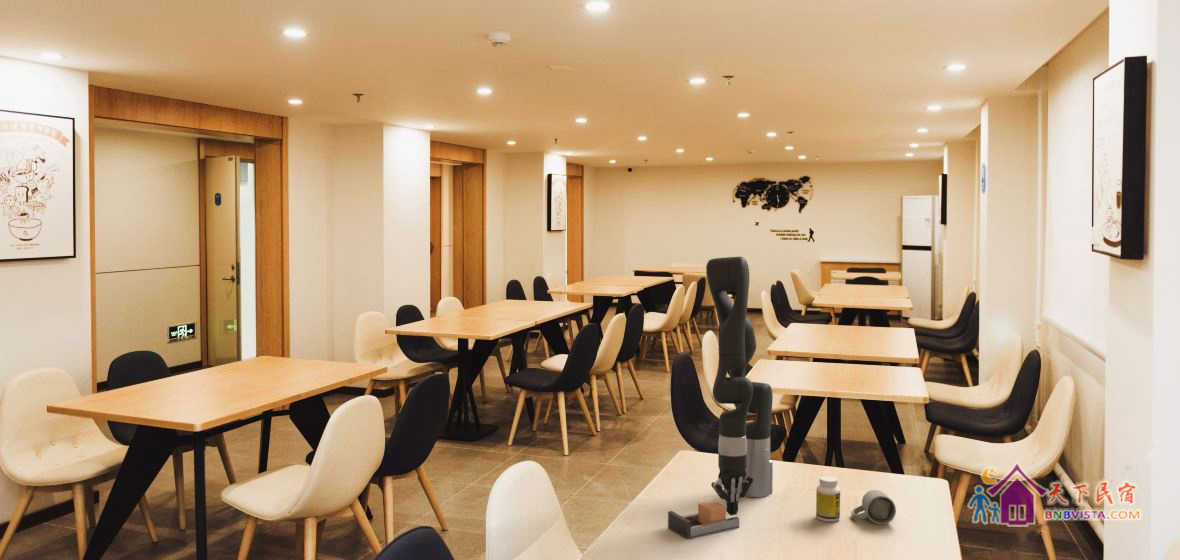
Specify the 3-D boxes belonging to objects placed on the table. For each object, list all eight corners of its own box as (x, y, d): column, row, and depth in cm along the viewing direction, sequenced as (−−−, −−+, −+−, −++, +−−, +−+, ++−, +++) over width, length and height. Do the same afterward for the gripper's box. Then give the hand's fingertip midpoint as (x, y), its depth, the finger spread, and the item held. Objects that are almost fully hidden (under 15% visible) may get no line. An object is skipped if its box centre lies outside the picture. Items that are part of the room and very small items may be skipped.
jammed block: (713, 518, 214) (713, 500, 213) (725, 525, 209) (726, 506, 209) (698, 521, 211) (698, 503, 211) (710, 528, 207) (710, 509, 206)
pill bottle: (840, 523, 211) (840, 483, 210) (815, 521, 213) (816, 481, 212) (839, 515, 217) (840, 476, 216) (816, 513, 219) (816, 474, 218)
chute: (719, 516, 217) (719, 500, 216) (739, 527, 209) (739, 510, 209) (668, 528, 209) (668, 511, 208) (686, 539, 201) (686, 522, 201)
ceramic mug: (887, 513, 218) (887, 486, 217) (896, 525, 210) (896, 496, 209) (848, 513, 219) (847, 486, 218) (855, 524, 211) (855, 496, 210)
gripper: (742, 444, 218) (742, 505, 219) (704, 451, 212) (703, 514, 213) (761, 451, 212) (760, 514, 213) (721, 458, 205) (721, 523, 207)
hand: (732, 514), depth 213 cm, fingers closed
